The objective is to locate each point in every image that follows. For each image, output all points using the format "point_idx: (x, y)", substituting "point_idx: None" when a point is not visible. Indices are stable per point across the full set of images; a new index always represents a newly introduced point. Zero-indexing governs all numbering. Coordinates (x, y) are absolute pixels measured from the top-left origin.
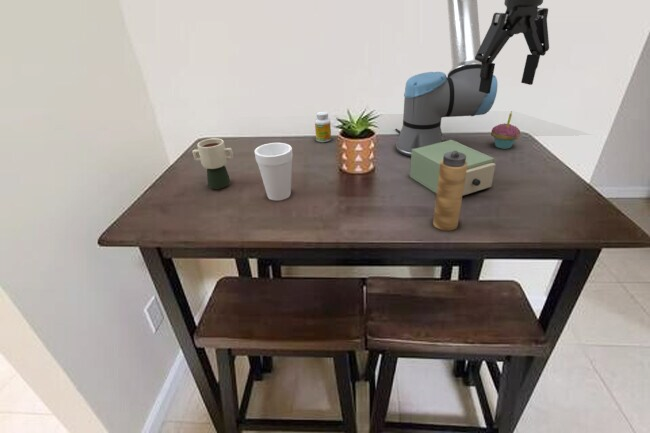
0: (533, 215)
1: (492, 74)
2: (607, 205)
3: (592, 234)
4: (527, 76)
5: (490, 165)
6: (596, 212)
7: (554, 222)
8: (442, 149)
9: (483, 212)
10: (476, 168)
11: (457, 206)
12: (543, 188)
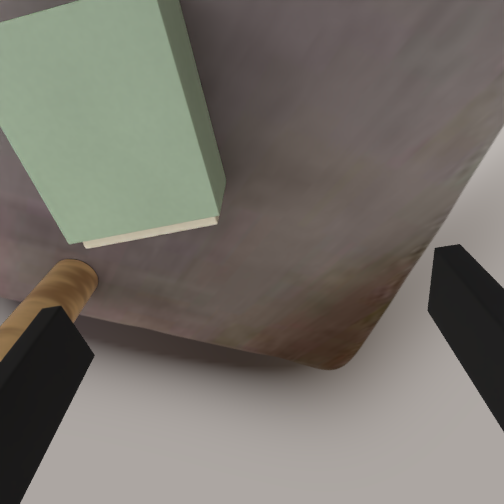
0: (243, 294)
1: (30, 469)
2: (387, 303)
3: (288, 348)
4: (455, 319)
5: (198, 227)
6: (349, 313)
7: (260, 316)
8: (78, 87)
9: (161, 263)
10: (152, 231)
11: None
12: (341, 222)
